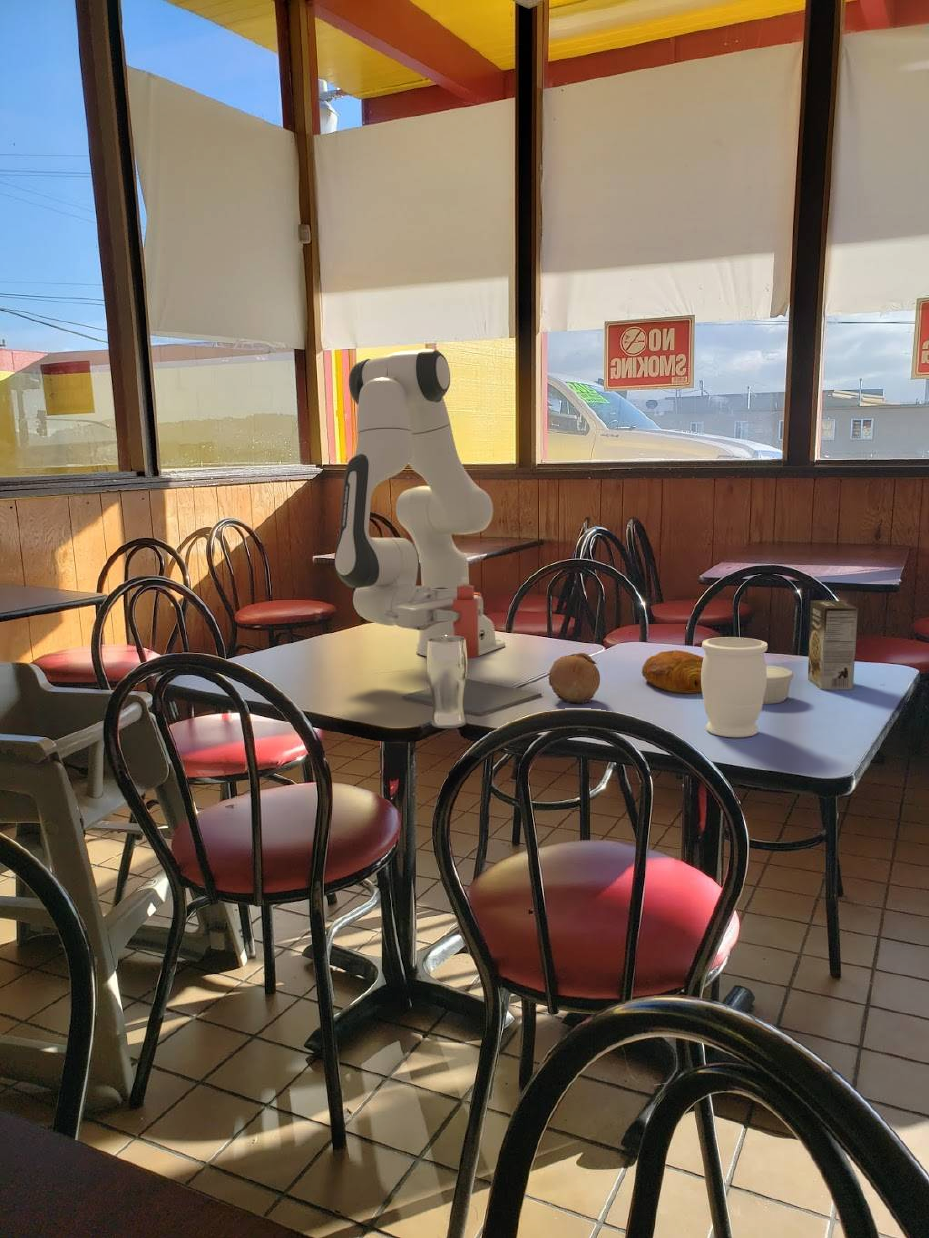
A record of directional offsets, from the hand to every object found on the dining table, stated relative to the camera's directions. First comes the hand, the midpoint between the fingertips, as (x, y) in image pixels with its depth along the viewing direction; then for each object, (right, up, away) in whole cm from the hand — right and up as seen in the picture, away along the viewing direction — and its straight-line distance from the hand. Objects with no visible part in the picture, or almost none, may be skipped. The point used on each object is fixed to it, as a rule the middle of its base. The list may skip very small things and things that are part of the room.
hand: (469, 614), depth 180 cm
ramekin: (+55, -16, -2) cm, 57 cm away
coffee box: (+71, -14, +7) cm, 73 cm away
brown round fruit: (+20, -16, -1) cm, 26 cm away
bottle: (-1, -8, +2) cm, 8 cm away
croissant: (+42, -14, +9) cm, 46 cm away
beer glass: (-4, -19, -15) cm, 25 cm away
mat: (+1, -16, +3) cm, 16 cm away
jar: (+43, -20, -23) cm, 53 cm away
